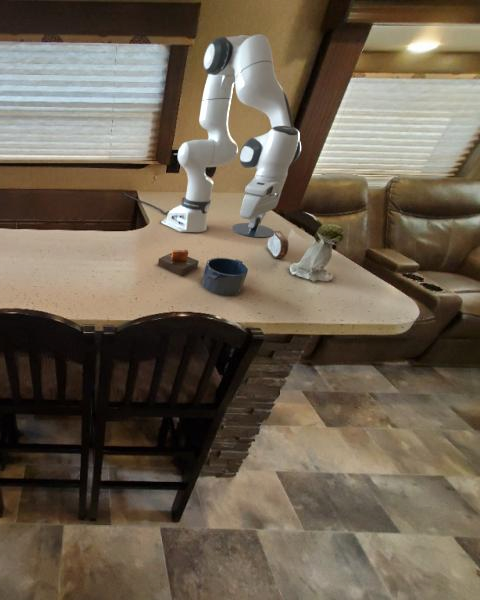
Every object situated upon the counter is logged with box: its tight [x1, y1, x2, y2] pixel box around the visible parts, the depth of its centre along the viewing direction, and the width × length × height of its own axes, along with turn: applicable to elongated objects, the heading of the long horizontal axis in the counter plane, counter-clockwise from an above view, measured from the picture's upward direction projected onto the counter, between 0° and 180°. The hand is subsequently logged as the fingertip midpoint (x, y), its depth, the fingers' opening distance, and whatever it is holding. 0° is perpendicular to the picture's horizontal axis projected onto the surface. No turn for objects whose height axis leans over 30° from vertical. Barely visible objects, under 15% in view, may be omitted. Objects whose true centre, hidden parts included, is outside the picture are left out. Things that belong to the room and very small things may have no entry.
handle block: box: [157, 252, 200, 277], centre depth 112 cm, size 11×10×3 cm
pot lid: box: [231, 216, 275, 239], centre depth 103 cm, size 14×14×6 cm
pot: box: [201, 257, 249, 296], centre depth 99 cm, size 13×18×8 cm
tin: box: [266, 230, 289, 259], centre depth 119 cm, size 15×3×8 cm, turn 168°
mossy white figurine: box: [289, 223, 345, 283], centre depth 102 cm, size 12×13×18 cm
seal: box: [171, 249, 189, 261], centre depth 110 cm, size 6×2×4 cm, turn 84°
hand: (254, 225), depth 103 cm, fingers closed on pot lid, 2 cm apart
